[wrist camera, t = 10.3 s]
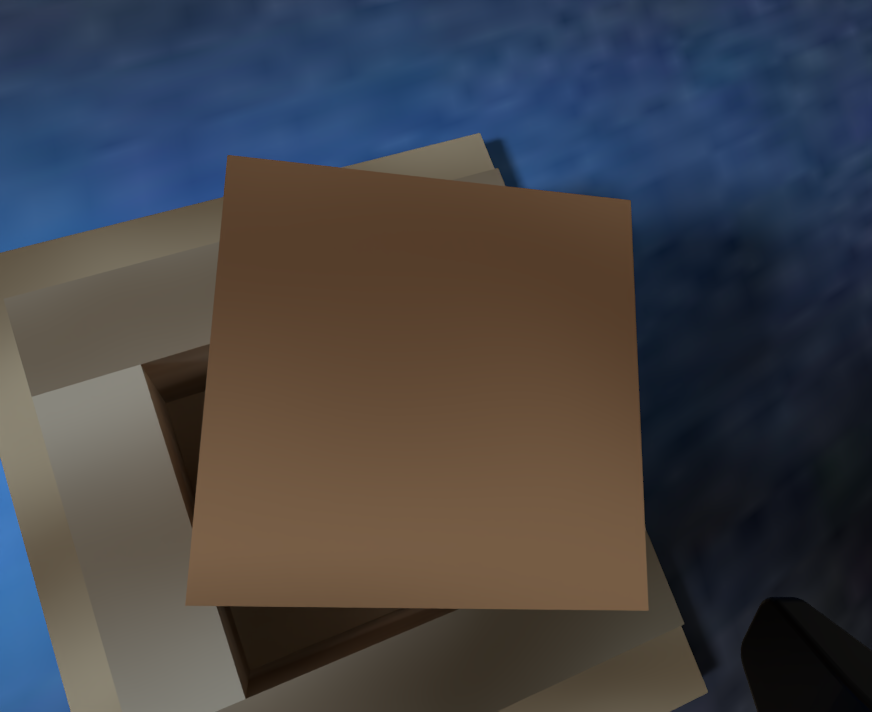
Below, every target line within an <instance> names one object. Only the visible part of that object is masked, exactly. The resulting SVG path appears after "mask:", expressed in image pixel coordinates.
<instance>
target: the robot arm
mask: <svg viewBox="0 0 872 712" xmlns="http://www.w3.org/2000/svg"><path fill="white" fill-rule="evenodd" d="M741 659H742V664H743V667H744V671H745V674H746V677H747V680H748V683H749V687H750V690H751V693H752V696H753V699H754V703H755V706H756V709H757V712H872V651H871V650H870V649H869V648H867V647H866V646H865V645H863V644H862V643H861V642H859V641H858V640H857V639H855V638H854V637H853V636H851V635H850V634H848V633H847V632H846V631H844V630H843V629H842V628H840V627H839V626H838V625H836V624H835V623H834V622H832V621H831V620H830V619H828V618H827V617H826V616H824V615H823V614H822V613H820V612H819V611H817V610H816V609H815V608H813V607H812V606H811V605H809V604H808V603H807V602H805V601H804V600H802V599H799V598H795V597H770V598H767V599H765V600H764V601H763V602H762V603H761V605H760V606H759V608H758V610H757V612H756V614H755V616H754V619H753V621H752V623H751V625H750V627H749V629H748V631H747V633H746V635H745V637H744V639H743V642H742V646H741Z"/></svg>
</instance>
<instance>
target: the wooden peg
mask: <svg viewBox="0 0 872 712" xmlns="http://www.w3.org/2000/svg"><path fill="white" fill-rule="evenodd" d="M185 606H254V607H347V608H440V609H534V610H627V611H649V607H648V584H647V562H646V539H645V516H644V493H643V471H642V448H641V425H640V403H639V380H638V357H637V335H636V312H635V289H634V266H633V244H632V221H631V200H623V199H614V198H605V197H597V196H588V195H579V194H570V193H561V192H552V191H543V190H534V189H525V188H516V187H508V186H499V185H490V184H481V183H472V182H463V181H454V180H445V179H436V178H427V177H419V176H410V175H401V174H392V173H383V172H374V171H365V170H356V169H347V168H338V167H330V166H321V165H312V164H303V163H294V162H285V161H276V160H267V159H258V158H249V157H241V156H232V155H228V156H227V166H226V177H225V188H224V198H223V209H222V220H221V230H220V241H219V251H218V262H217V273H216V283H215V294H214V304H213V315H212V326H211V336H210V347H209V358H208V368H207V379H206V389H205V400H204V411H203V421H202V432H201V442H200V453H199V464H198V474H197V485H196V496H195V506H194V517H193V527H192V538H191V549H190V559H189V570H188V580H187V591H186V602H185Z"/></svg>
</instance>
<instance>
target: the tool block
mask: <svg viewBox="0 0 872 712" xmlns="http://www.w3.org/2000/svg"><path fill="white" fill-rule="evenodd" d="M342 168H347V169H356V170H365V171H374V172H383V173H392V174H401V175H410V176H419V177H427V178H436V179H445V180H454V181H463V182H472V183H481V184H490V185H499V186H505V184H504V181H503V179H502V176H501V174H500V171H499V169H498V168H496V169H494V166H493V164H492V161H491V159H490V156H489V154H488V151H487V149H486V147H485V144H484V142H483V139H482V137H481V134H480V133H478V134H474V135H470V136H466V137H462V138H458V139H454V140H450V141H446V142H442V143H438V144H434V145H430V146H426V147H422V148H418V149H414V150H410V151H406V152H402V153H398V154H394V155H390V156H386V157H382V158H378V159H374V160H370V161H366V162H362V163H358V164H354V165H350V166H346V167H342ZM223 198H224V197H222V198H218V199H214V200H210V201H206V202H202V203H198V204H194V205H190V206H186V207H182V208H178V209H174V210H170V211H166V212H162V213H158V214H154V215H150V216H146V217H142V218H138V219H134V220H130V221H126V222H122V223H118V224H114V225H110V226H106V227H102V228H98V229H94V230H90V231H86V232H82V233H78V234H74V235H70V236H66V237H62V238H58V239H54V240H50V241H46V242H42V243H38V244H34V245H30V246H26V247H22V248H18V249H14V250H10V251H6V252H2V253H0V458H1V461H2V465H3V468H4V472H5V476H6V479H7V483H8V486H9V490H10V494H11V497H12V501H13V505H14V508H15V512H16V515H17V519H18V523H19V526H20V530H21V533H22V537H23V541H24V544H25V548H26V552H27V555H28V559H29V562H30V566H31V570H32V573H33V577H34V580H35V584H36V588H37V591H38V595H39V598H40V602H41V606H42V609H43V613H44V617H45V620H46V624H47V627H48V631H49V635H50V638H51V642H52V645H53V649H54V653H55V656H56V660H57V663H58V667H59V671H60V674H61V678H62V682H63V685H64V689H65V692H66V696H67V700H68V703H69V707H70V710H71V712H670V711H672V710H674V709H676V708H678V707H680V706H682V705H684V704H686V703H688V702H690V701H692V700H694V699H696V698H698V697H700V696H702V695H704V694H706V693H708V691H707V688H706V686H705V683H704V681H703V678H702V676H701V673H700V671H699V669H698V666H697V664H696V661H695V659H694V656H693V654H692V651H691V649H690V646H689V644H688V642H687V639H686V637H685V634H684V632H683V629H682V627H681V625H684V621H683V619H682V617H681V614H680V612H679V609H678V607H677V604H676V602H675V599H674V597H673V595H672V592H671V590H670V587H669V585H668V582H667V580H666V577H665V575H664V573H663V570H662V568H661V565H660V563H659V560H658V558H657V555H656V553H655V551H654V548H653V546H652V543H651V541H650V538H649V536H648V533H647V531H646V529H645V539H646V562H647V584H648V607H649V611H627V610H534V609H440V608H347V607H254V606H185V602H186V591H187V580H188V570H189V559H190V549H191V538H192V527H193V517H194V506H195V496H196V485H197V474H198V464H199V453H200V442H201V432H202V421H203V411H204V400H205V389H206V379H207V368H208V358H209V347H210V336H211V326H212V315H213V304H214V294H215V283H216V273H217V262H218V251H219V241H220V230H221V220H222V209H223Z"/></svg>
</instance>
